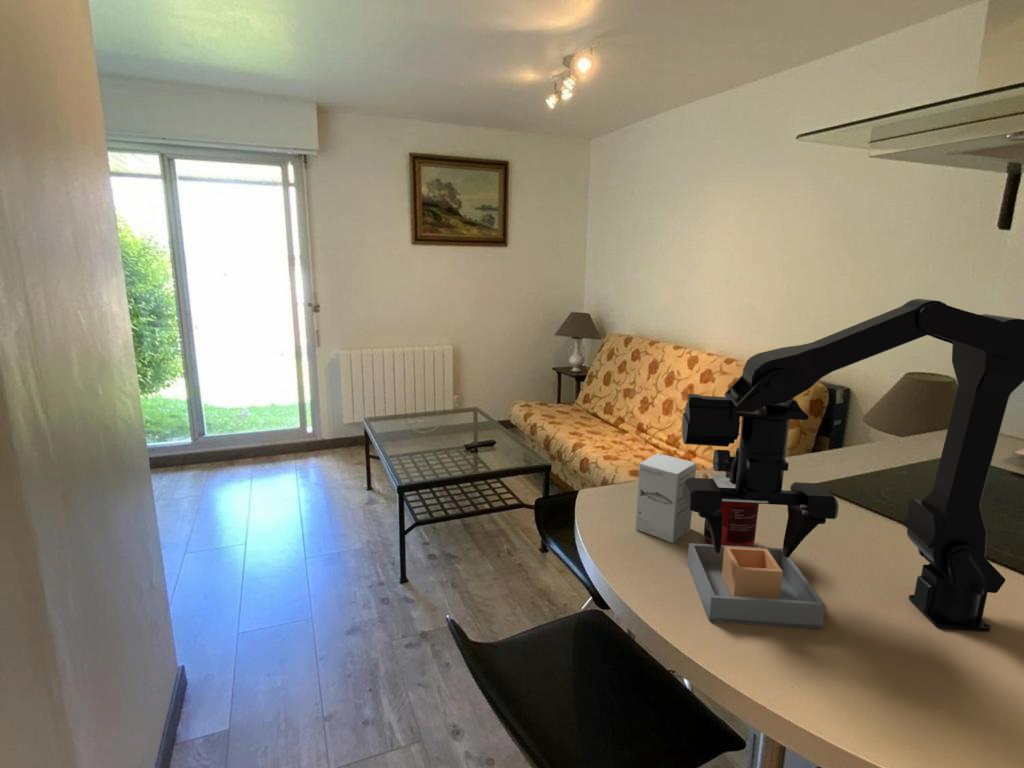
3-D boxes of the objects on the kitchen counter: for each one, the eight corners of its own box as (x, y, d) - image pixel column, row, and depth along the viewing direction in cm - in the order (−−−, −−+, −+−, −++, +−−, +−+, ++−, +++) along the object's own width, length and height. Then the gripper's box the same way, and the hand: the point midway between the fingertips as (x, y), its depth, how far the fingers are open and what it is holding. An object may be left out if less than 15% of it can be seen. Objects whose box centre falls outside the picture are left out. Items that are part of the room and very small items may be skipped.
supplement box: (633, 530, 95) (637, 462, 92) (654, 516, 100) (658, 451, 98) (672, 544, 90) (677, 473, 87) (692, 529, 95) (697, 461, 93)
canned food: (712, 528, 96) (717, 470, 93) (759, 543, 91) (766, 481, 88) (695, 545, 90) (701, 483, 87) (745, 562, 85) (752, 497, 83)
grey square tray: (781, 569, 83) (783, 548, 82) (821, 629, 69) (825, 605, 68) (687, 563, 84) (689, 543, 84) (709, 621, 71) (711, 597, 70)
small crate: (763, 579, 79) (767, 548, 78) (779, 604, 73) (783, 571, 72) (721, 577, 80) (724, 546, 79) (733, 602, 74) (736, 569, 73)
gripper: (810, 432, 79) (798, 530, 82) (679, 427, 81) (672, 523, 84) (847, 459, 68) (831, 570, 71) (695, 453, 70) (686, 561, 74)
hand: (751, 553), depth 75 cm, fingers open, 9 cm apart
